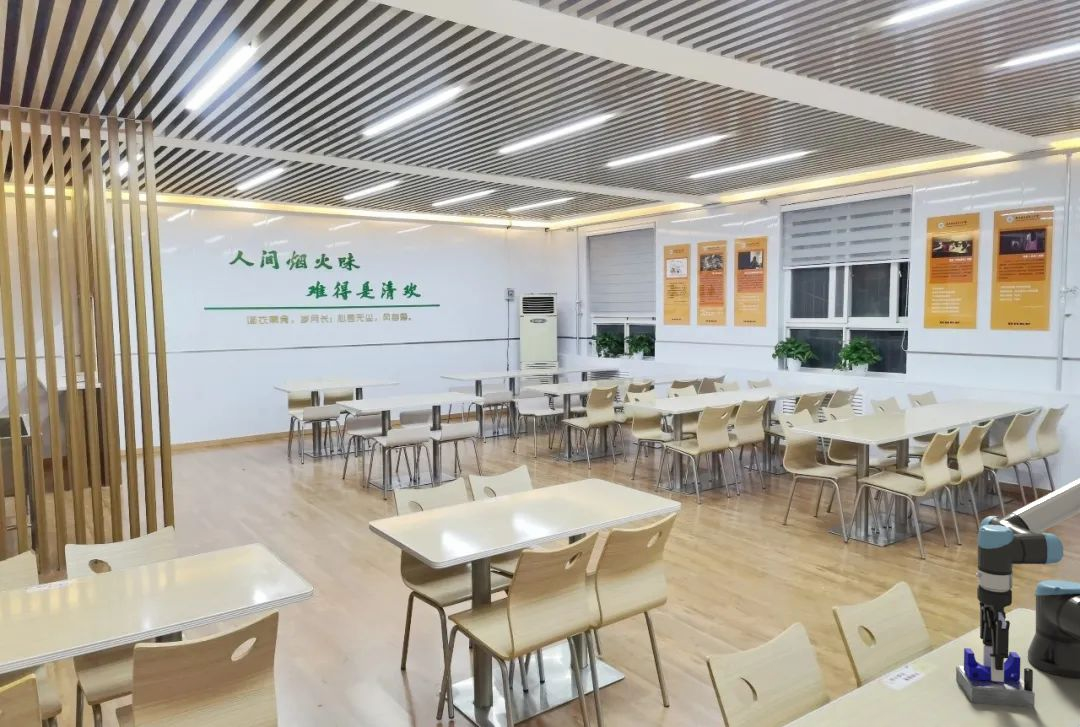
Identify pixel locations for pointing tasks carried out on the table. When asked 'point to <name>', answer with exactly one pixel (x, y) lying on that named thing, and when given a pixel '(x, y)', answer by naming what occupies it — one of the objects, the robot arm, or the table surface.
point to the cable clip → (984, 673)
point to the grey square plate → (998, 689)
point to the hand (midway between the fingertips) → (993, 675)
